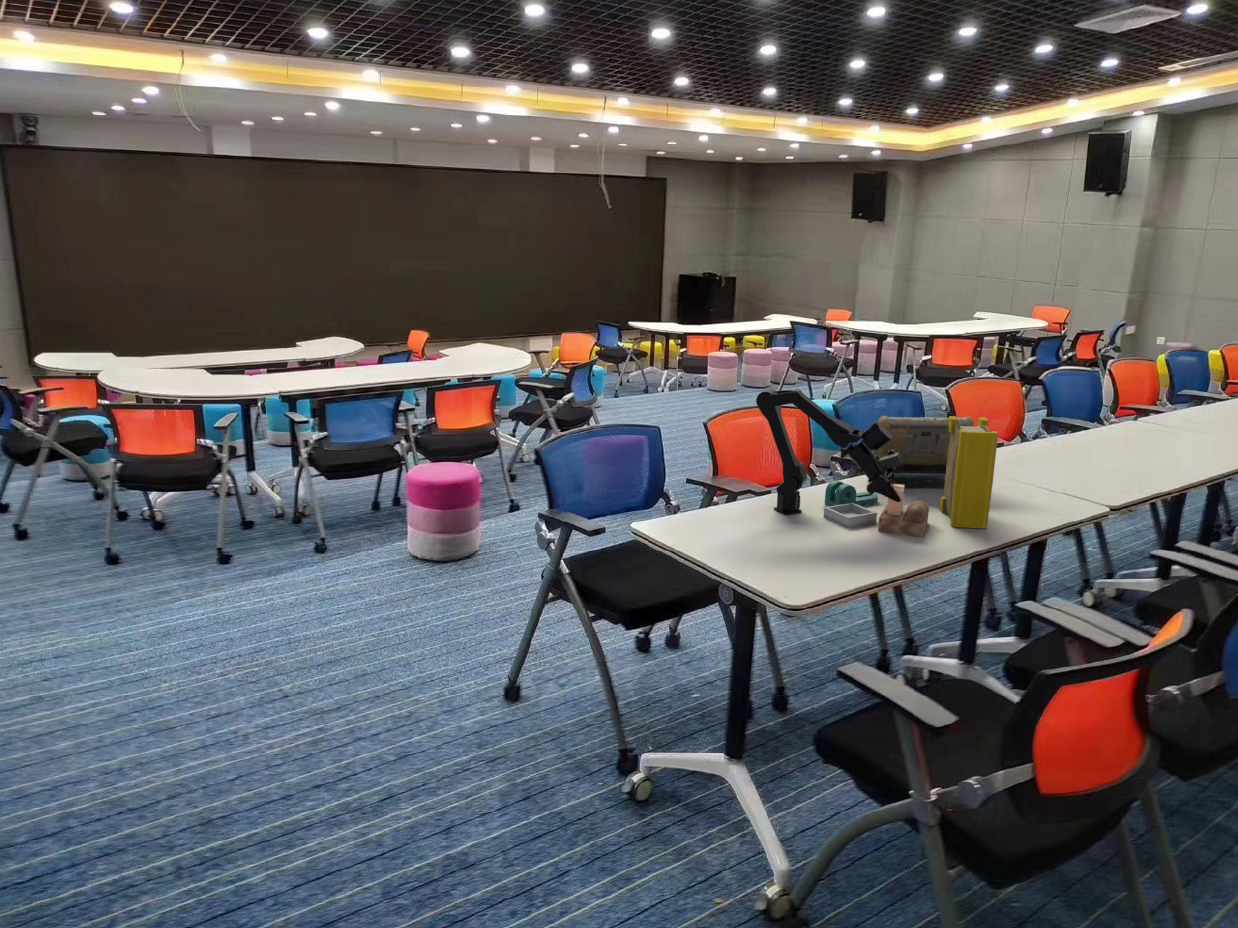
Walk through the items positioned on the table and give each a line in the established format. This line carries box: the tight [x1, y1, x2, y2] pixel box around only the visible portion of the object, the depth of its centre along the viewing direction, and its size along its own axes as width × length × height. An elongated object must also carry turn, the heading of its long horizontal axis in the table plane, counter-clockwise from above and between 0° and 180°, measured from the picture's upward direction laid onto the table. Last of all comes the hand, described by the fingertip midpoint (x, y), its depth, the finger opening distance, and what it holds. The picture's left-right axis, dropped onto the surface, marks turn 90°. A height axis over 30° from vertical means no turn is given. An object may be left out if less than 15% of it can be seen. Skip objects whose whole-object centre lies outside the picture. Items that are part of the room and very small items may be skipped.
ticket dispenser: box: [877, 500, 930, 538], centre depth 250 cm, size 12×14×7 cm
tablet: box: [867, 415, 975, 490], centre depth 291 cm, size 33×14×25 cm, turn 94°
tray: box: [823, 503, 878, 528], centre depth 257 cm, size 11×11×3 cm
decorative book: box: [939, 415, 999, 529], centre depth 255 cm, size 20×11×30 cm, turn 169°
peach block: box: [887, 484, 906, 516], centre depth 250 cm, size 4×2×11 cm, turn 65°
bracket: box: [824, 479, 879, 507], centre depth 272 cm, size 18×7×8 cm, turn 117°
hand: (900, 500), depth 249 cm, fingers closed on peach block, 2 cm apart
